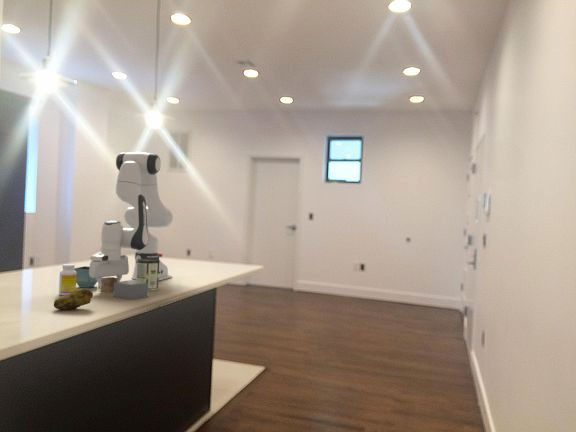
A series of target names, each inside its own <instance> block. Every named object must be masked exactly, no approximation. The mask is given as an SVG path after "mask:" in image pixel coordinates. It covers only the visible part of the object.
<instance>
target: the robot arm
mask: <svg viewBox="0 0 576 432" xmlns="http://www.w3.org/2000/svg"><path fill="white" fill-rule="evenodd" d="M161 164H162V162H161V158H160V156H159V155H158V154H156V153H152V152H151V153H150V152H143V151H142V152H141V151H136V152H135V151H130V152H128V151H124V152H120V153H119V154H118V155H117V157H116V159H115V166H116V169H117V170H118V175H117V179H116V185H115V192H116V193H115V194H116V195H117V197H118V199H120V200H121V201H122V202H124V203H126V204H128V205H129V207H128V208H127V209H126V210H125V211H124V216H123V217H124V222H126V224H127V225H128V226H129V227H125V226H122V223H121V221H120V220H117V219H114V220H113V219H112V220H106V221H104V222H103V223H102V224H103V225H102V227H101V228H102V229H101V236H100V237H101V239H100V240H101V246H100V251H98V252H97V253H94V254H92V255H91V256H90V260H91V261H90V263H89V266H88V267H89V276H90V277H91V278H96V280H97V283H98V284H97V286H98V288H101V287H103V285H104V283H102V281H101V280H102V278H104V277H115V278H118V279H117V282H121V280H122V278H123V276H125V275H128V274H129V273H130V269H129V258H128V256H127V255H126V254H121V253H122V249H132V250H135V251H136V252H135V254H134V259H135V262H134V266H133V271H132V275H131V280H135V281H137V264H138V261H137V260H138V259H158V260H160V258H163V256H164V254H163V253H160V252H159V253H158V246H159V241H158V238H157V236H156V235H155V234H153V233H151V232H150V230H149V228H167V227H169V226H170V225H171V224H172V222H173V220H174V219H173V212H172V211H171V210H170V209H169V208H167V206H165V205H164V203H163V202H162V200H161V197H160V196H159V188H158V177H157V176H158V175H157V174H158V172H159V171H160V169H161V167H162V166H161ZM168 270H169V269H168V266H167V265H166V264H165V263H164V262H162V260H160V262H159V279H158V281H163V280H166V279H170V278H173V275H171V274H169V271H168Z"/></svg>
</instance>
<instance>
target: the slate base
mask: <svg viewBox="0 0 576 432" xmlns="http://www.w3.org/2000/svg"><path fill="white" fill-rule="evenodd" d="M148 292H149V291H148V283H145V282H140V281H137V280H135V279H130V280H129V279H128V280H122V281H121V280H120V282H117V283H114V291H113V295H112V296H113V297H114V298H118V299H124V300H129V301H131V300H132V301H133V300H137V299H142V298H147V297H148Z"/></svg>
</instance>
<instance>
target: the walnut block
mask: <svg viewBox="0 0 576 432" xmlns="http://www.w3.org/2000/svg"><path fill="white" fill-rule="evenodd" d="M117 279H118V278H117V277H115V276H109V277H102V280H101V281H102V283H104V285H103V287H100V292H104V293H105V292H106V293H114V283H117Z"/></svg>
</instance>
